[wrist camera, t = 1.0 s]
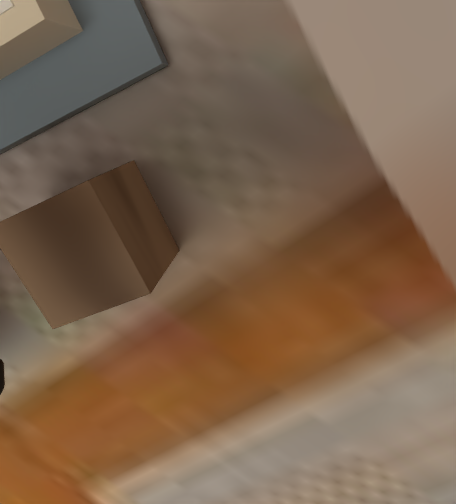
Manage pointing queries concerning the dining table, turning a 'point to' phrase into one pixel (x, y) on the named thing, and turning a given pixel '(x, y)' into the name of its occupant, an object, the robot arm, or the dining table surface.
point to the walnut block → (90, 246)
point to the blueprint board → (68, 59)
